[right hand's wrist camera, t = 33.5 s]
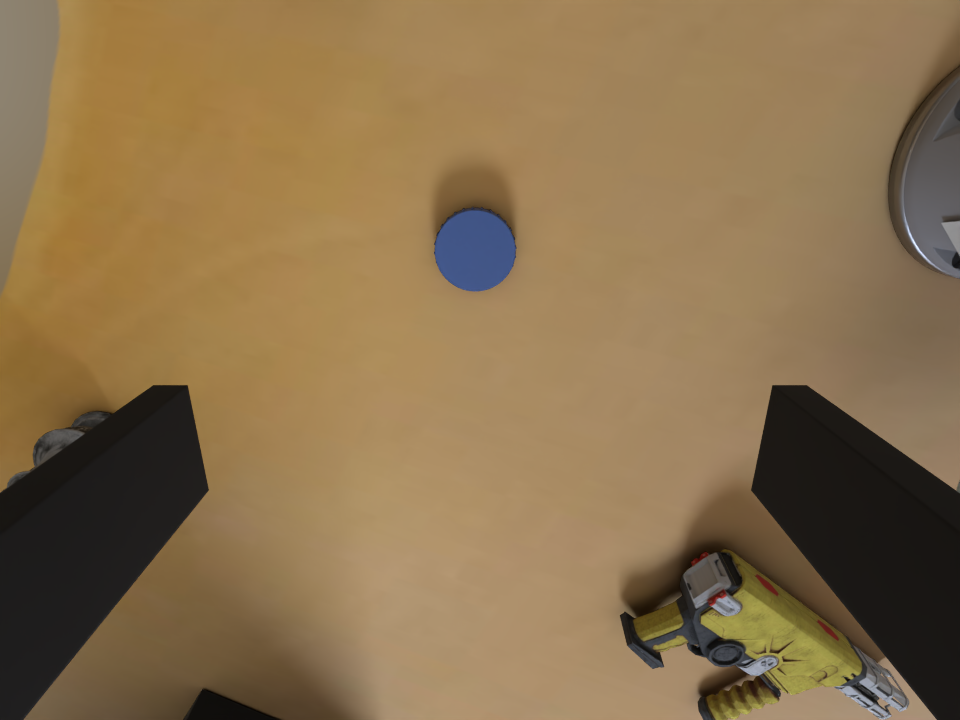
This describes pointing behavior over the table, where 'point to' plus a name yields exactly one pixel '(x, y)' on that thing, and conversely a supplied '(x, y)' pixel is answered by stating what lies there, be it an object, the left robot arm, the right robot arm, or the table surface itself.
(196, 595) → the table surface
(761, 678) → the toy gun
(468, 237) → the lid
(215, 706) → the cardboard box
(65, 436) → the dark grey tiered cylinder
